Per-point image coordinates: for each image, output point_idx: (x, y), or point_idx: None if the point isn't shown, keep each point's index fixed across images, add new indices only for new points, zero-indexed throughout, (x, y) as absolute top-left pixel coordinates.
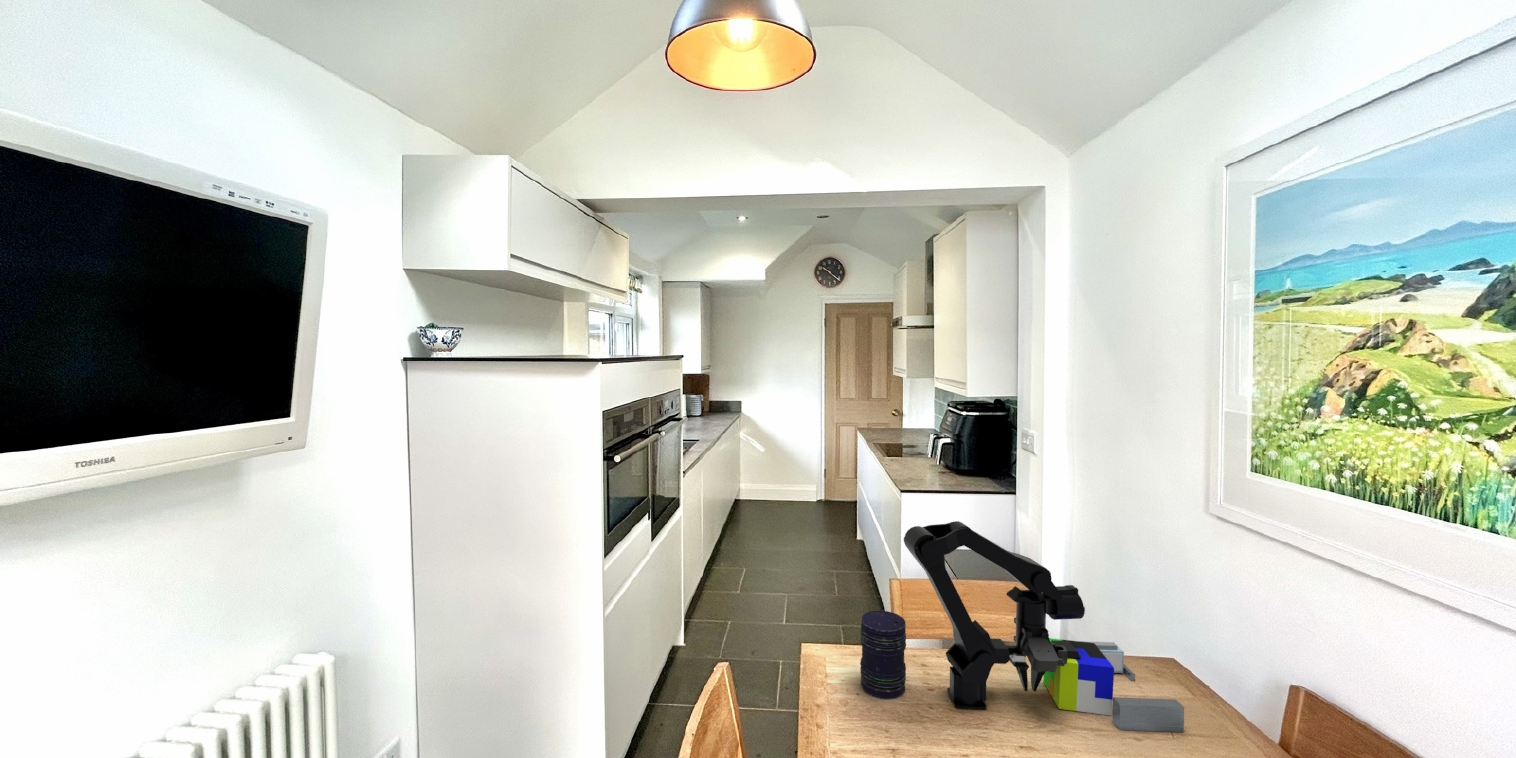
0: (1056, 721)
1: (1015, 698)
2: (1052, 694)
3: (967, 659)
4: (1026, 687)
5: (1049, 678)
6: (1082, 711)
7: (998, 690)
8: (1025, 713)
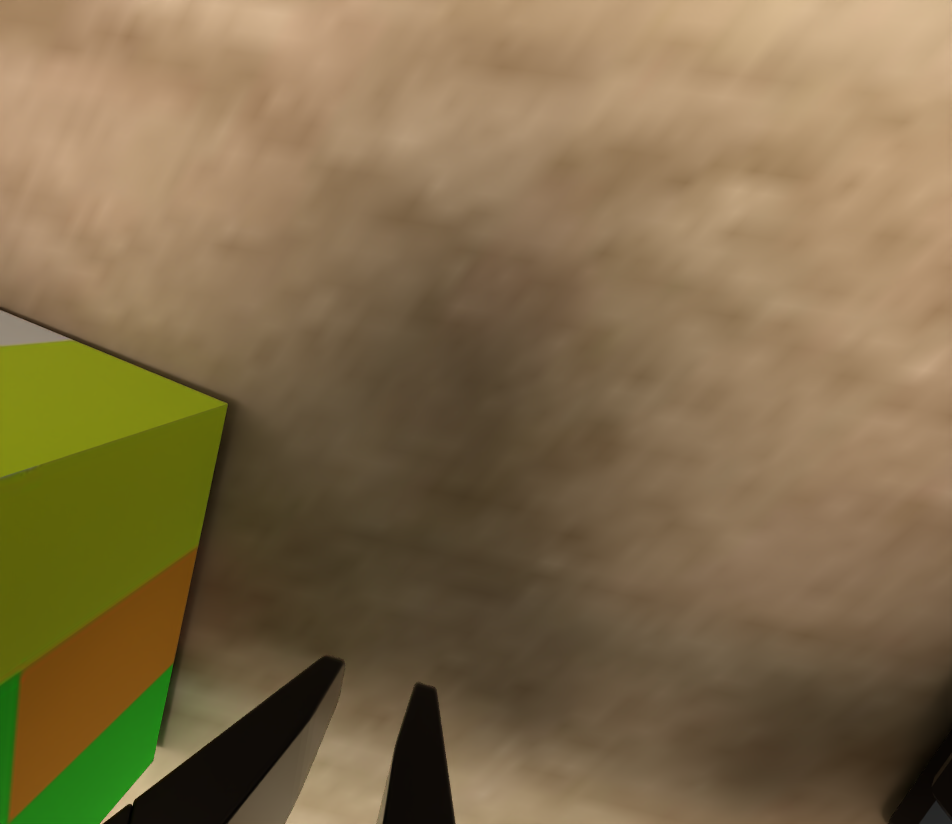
0: (371, 225)
1: (553, 647)
2: (170, 586)
3: None
4: (419, 725)
5: (45, 773)
6: (16, 317)
7: (633, 777)
8: (627, 421)
